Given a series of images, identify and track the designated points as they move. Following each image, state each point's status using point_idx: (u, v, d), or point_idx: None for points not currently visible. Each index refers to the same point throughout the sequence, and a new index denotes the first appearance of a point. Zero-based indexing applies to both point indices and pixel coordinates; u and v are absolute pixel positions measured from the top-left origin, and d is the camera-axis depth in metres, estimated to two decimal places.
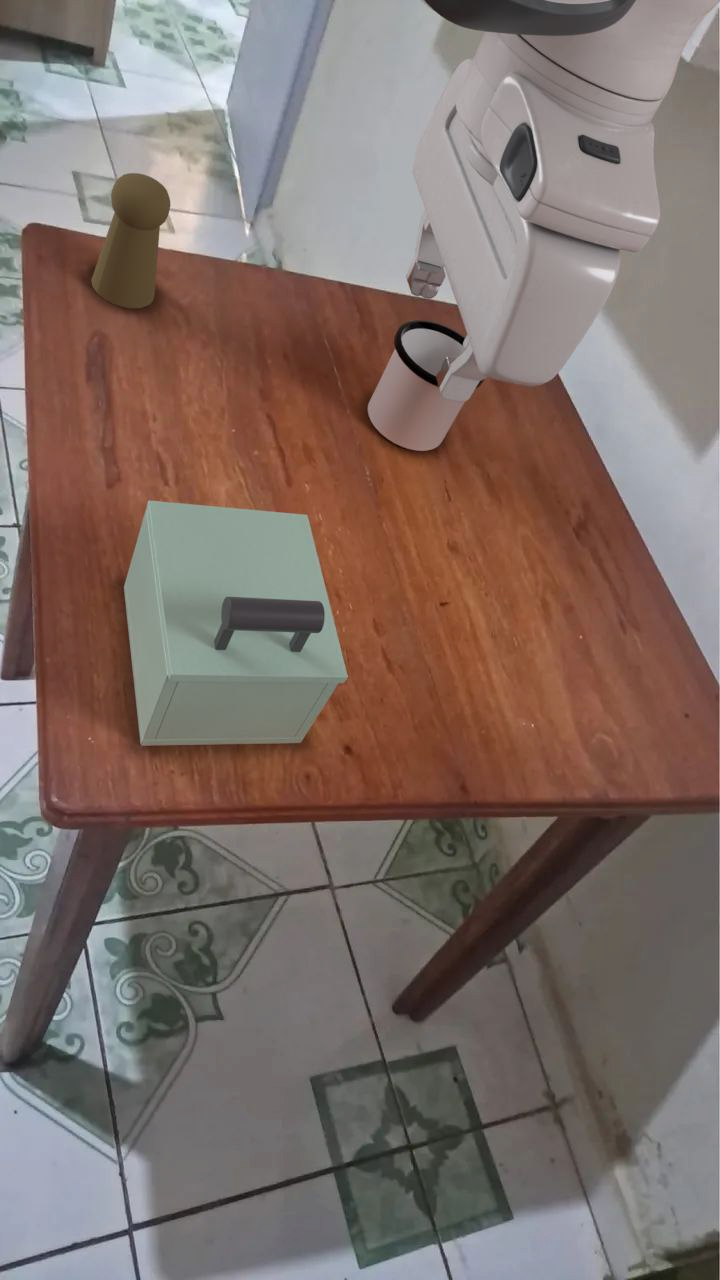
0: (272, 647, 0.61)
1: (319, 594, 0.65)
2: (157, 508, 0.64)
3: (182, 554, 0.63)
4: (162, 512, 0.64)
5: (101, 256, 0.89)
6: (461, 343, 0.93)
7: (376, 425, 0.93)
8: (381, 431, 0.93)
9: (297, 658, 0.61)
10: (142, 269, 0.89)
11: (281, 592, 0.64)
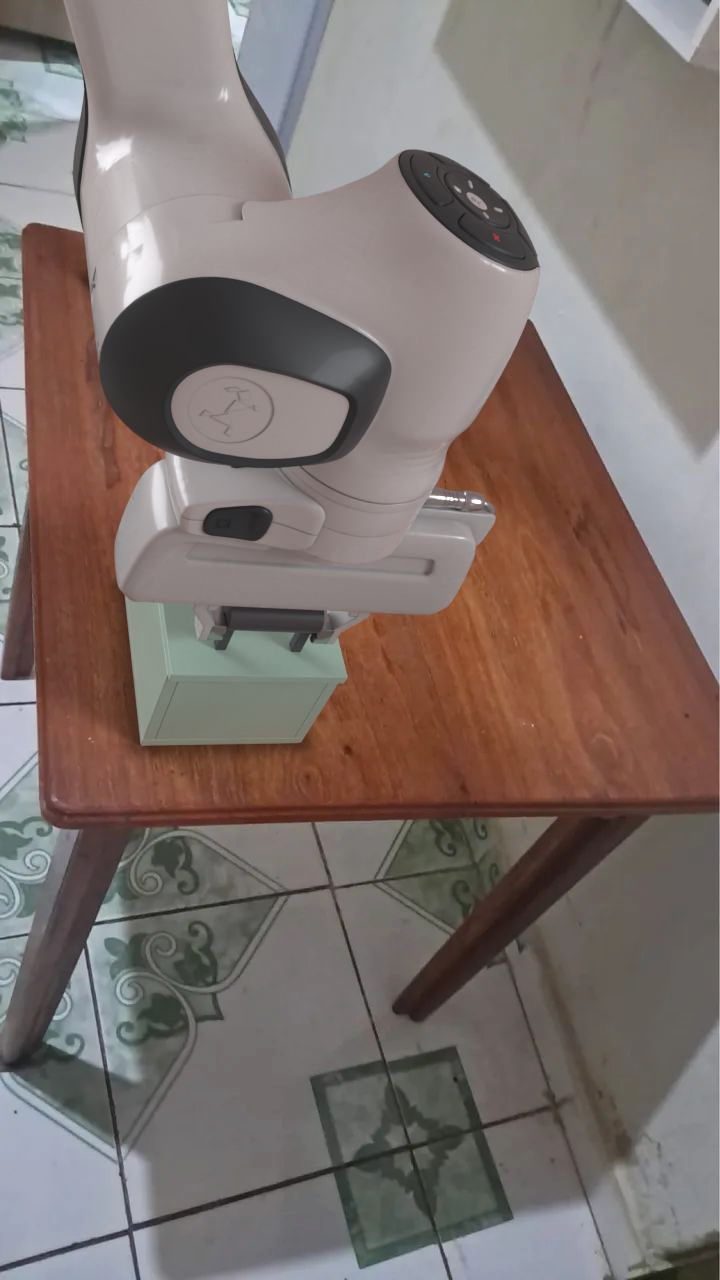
0: (272, 648, 0.61)
1: None
2: None
3: None
4: None
5: None
6: None
7: None
8: None
9: (297, 658, 0.61)
10: None
11: None
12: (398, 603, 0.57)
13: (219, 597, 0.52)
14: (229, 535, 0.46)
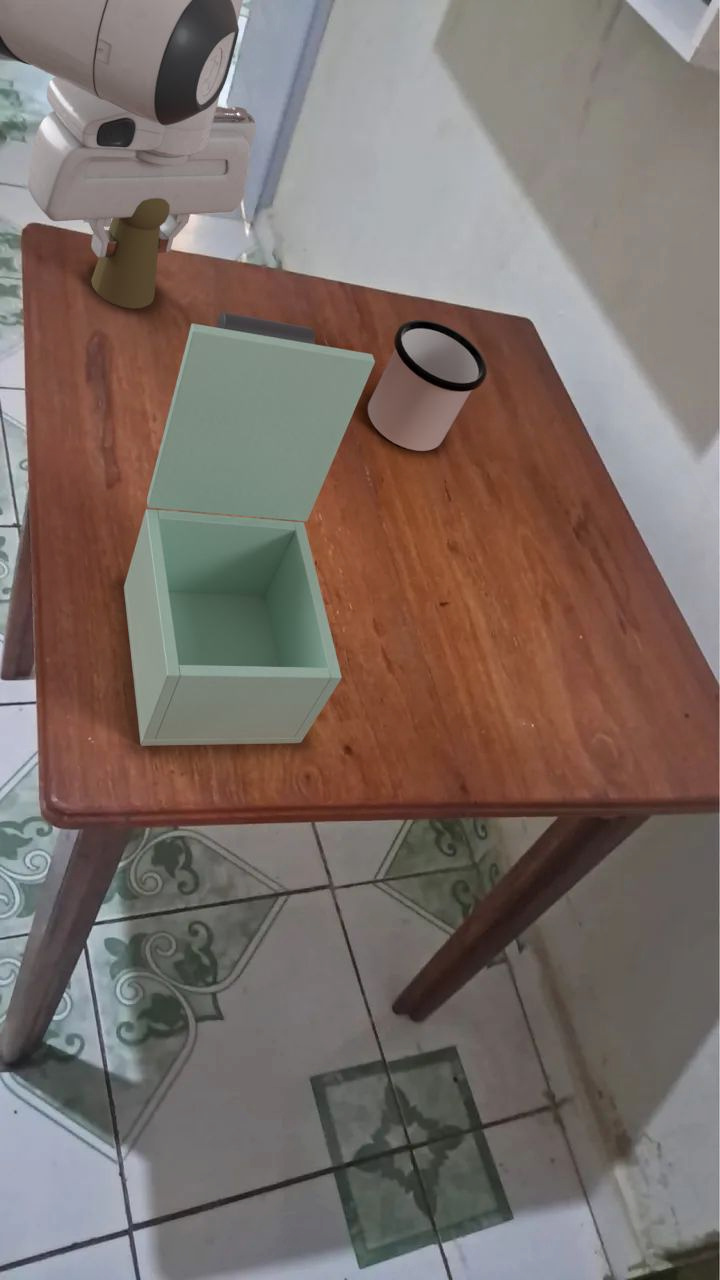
0: None
1: None
2: None
3: None
4: None
5: None
6: (461, 343, 0.93)
7: (376, 425, 0.93)
8: (381, 431, 0.93)
9: None
10: (142, 269, 0.89)
11: None
12: (212, 202, 0.88)
13: (106, 209, 0.82)
14: (112, 144, 0.76)
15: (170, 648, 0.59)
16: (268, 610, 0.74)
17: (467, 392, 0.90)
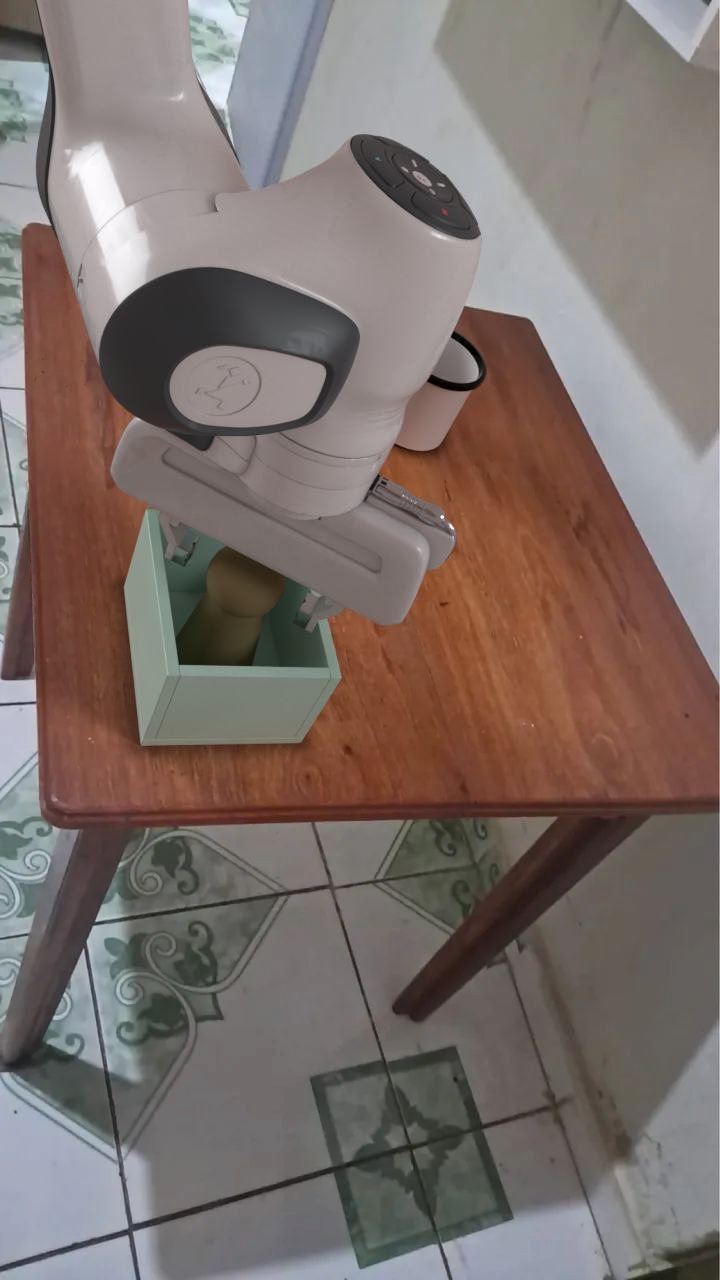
0: None
1: None
2: None
3: None
4: None
5: None
6: (461, 343, 0.93)
7: None
8: None
9: None
10: (211, 650, 0.65)
11: None
12: (349, 596, 0.59)
13: (188, 516, 0.58)
14: (181, 436, 0.52)
15: (170, 648, 0.59)
16: None
17: (467, 392, 0.90)
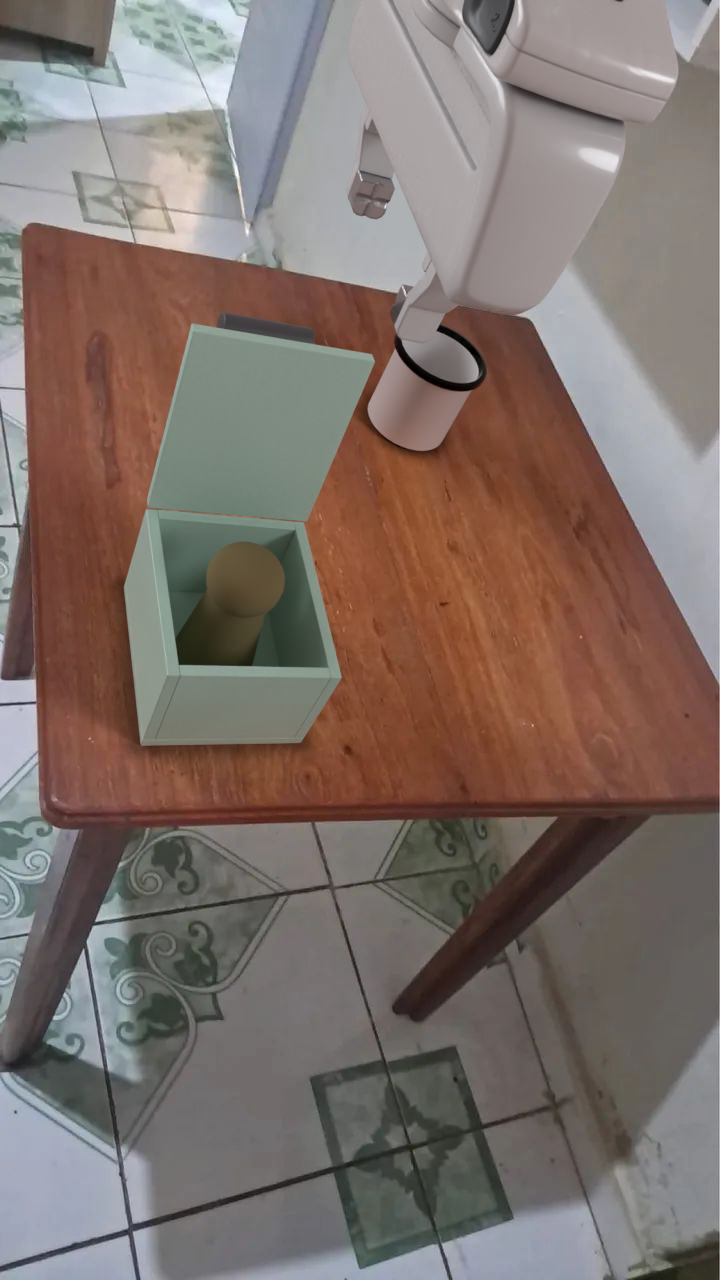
0: None
1: None
2: None
3: None
4: None
5: None
6: (461, 343, 0.93)
7: (376, 425, 0.93)
8: (381, 431, 0.93)
9: None
10: (211, 650, 0.65)
11: None
12: None
13: None
14: None
15: (170, 648, 0.59)
16: None
17: (467, 392, 0.90)
